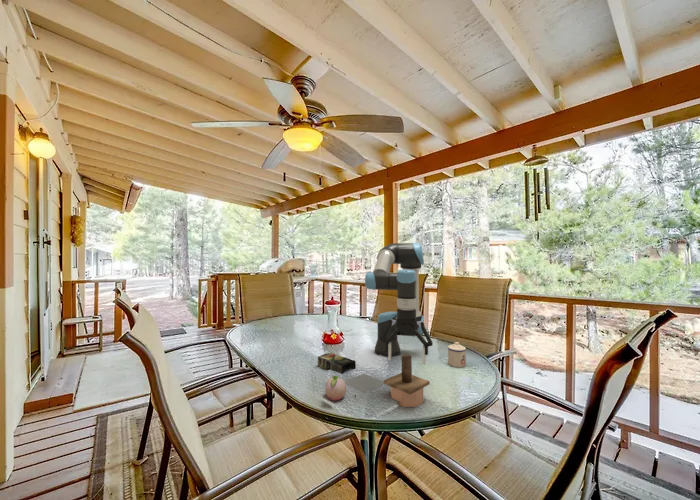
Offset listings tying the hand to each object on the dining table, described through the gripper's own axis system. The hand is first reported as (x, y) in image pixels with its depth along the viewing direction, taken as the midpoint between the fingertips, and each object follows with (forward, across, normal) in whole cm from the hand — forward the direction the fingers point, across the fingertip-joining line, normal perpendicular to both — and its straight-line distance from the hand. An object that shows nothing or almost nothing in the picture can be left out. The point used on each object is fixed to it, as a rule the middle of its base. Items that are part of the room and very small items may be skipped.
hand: (406, 361), depth 122 cm
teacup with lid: (+16, +21, +46) cm, 53 cm away
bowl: (+15, 0, 0) cm, 15 cm away
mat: (+15, -19, +6) cm, 25 cm away
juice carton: (+16, -38, +21) cm, 46 cm away
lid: (+9, 0, 0) cm, 9 cm away
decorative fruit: (+15, -26, -11) cm, 32 cm away
